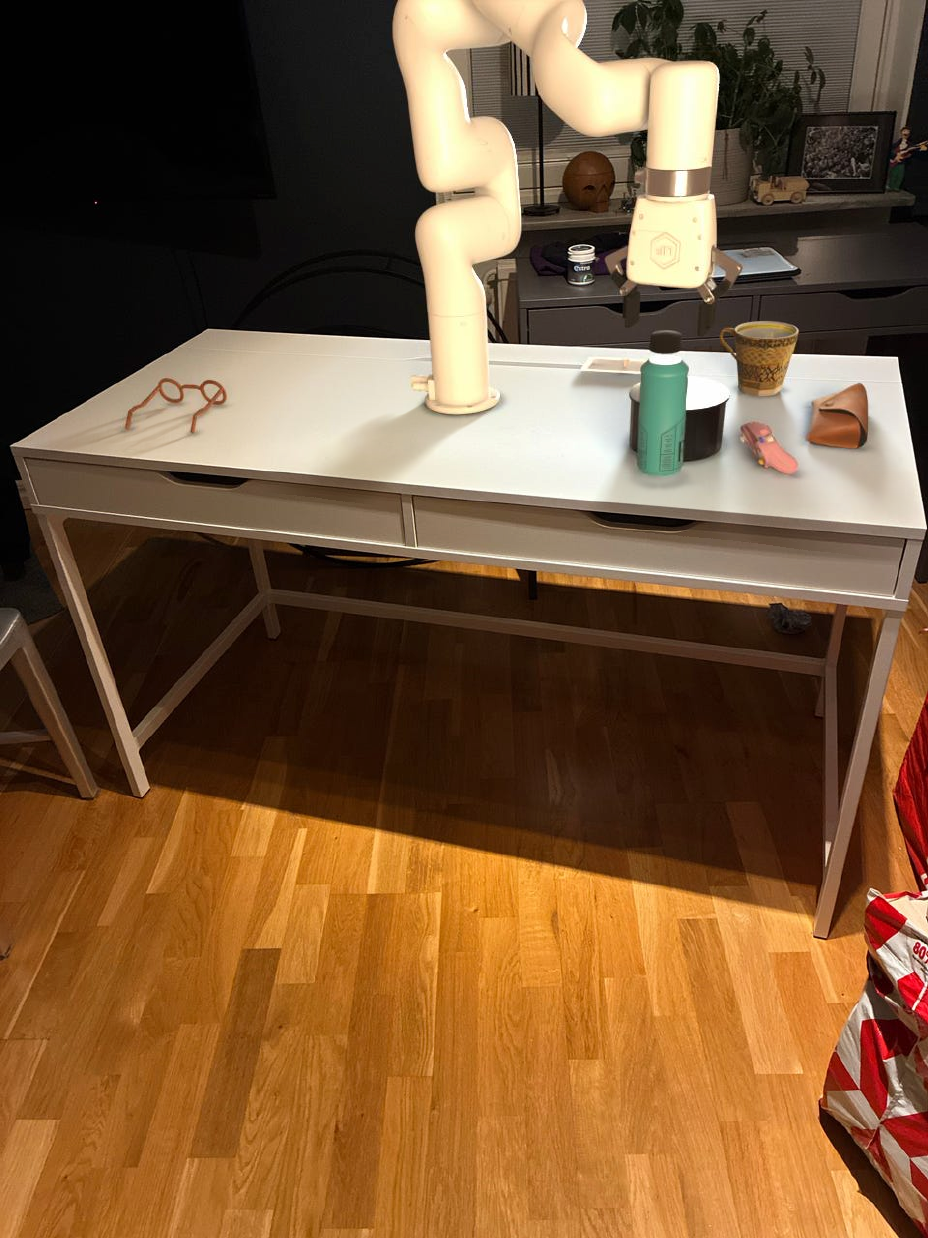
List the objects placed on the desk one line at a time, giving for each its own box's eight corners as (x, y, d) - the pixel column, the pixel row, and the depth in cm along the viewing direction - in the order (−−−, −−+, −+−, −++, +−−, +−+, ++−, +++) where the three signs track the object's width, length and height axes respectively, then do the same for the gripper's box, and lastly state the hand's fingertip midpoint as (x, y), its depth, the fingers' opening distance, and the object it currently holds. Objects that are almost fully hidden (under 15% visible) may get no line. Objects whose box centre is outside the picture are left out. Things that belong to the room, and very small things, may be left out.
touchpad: (663, 381, 163) (664, 368, 162) (579, 376, 168) (579, 364, 167) (670, 366, 169) (671, 354, 168) (589, 362, 174) (589, 350, 173)
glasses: (230, 406, 165) (224, 378, 162) (193, 434, 154) (186, 405, 152) (164, 403, 168) (158, 375, 166) (123, 430, 158) (116, 401, 155)
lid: (622, 414, 132) (623, 389, 131) (635, 381, 144) (636, 358, 142) (726, 419, 129) (728, 394, 127) (731, 385, 140) (733, 361, 138)
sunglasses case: (808, 398, 151) (836, 364, 147) (844, 422, 151) (874, 389, 147) (804, 442, 137) (836, 405, 132) (844, 468, 137) (877, 432, 133)
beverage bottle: (682, 487, 127) (693, 340, 117) (633, 485, 129) (639, 340, 118) (683, 467, 133) (693, 325, 122) (635, 466, 134) (641, 325, 123)
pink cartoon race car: (747, 459, 138) (730, 420, 134) (776, 443, 137) (759, 404, 133) (771, 487, 129) (754, 447, 126) (802, 471, 128) (785, 430, 125)
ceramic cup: (800, 386, 158) (809, 326, 152) (774, 403, 151) (782, 342, 146) (729, 373, 165) (735, 315, 159) (701, 389, 159) (706, 330, 153)
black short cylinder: (623, 459, 136) (625, 409, 132) (636, 425, 147) (638, 378, 143) (718, 465, 133) (723, 414, 129) (724, 429, 144) (728, 381, 140)
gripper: (596, 185, 112) (592, 329, 121) (740, 191, 104) (724, 345, 113) (621, 175, 117) (616, 314, 126) (760, 180, 109) (743, 328, 118)
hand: (667, 328), depth 120 cm, fingers open, 9 cm apart
